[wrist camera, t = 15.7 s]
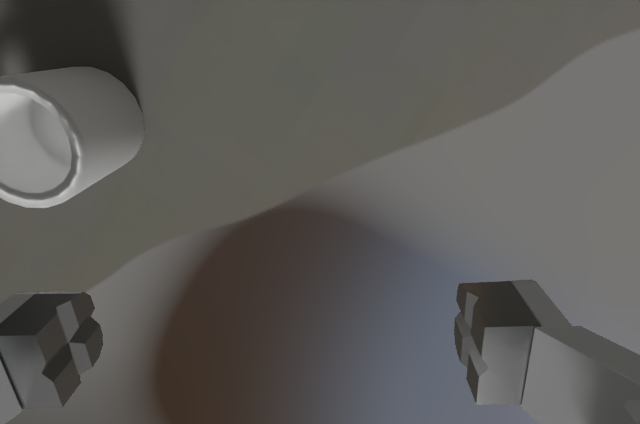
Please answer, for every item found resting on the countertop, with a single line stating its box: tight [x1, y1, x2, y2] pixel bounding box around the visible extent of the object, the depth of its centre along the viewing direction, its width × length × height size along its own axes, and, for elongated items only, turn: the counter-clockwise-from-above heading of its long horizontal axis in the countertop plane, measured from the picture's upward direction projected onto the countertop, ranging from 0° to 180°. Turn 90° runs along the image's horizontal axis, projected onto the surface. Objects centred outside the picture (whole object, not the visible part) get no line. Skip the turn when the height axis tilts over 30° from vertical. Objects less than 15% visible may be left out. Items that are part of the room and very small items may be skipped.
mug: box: [0, 67, 144, 208], centre depth 38 cm, size 14×10×11 cm
